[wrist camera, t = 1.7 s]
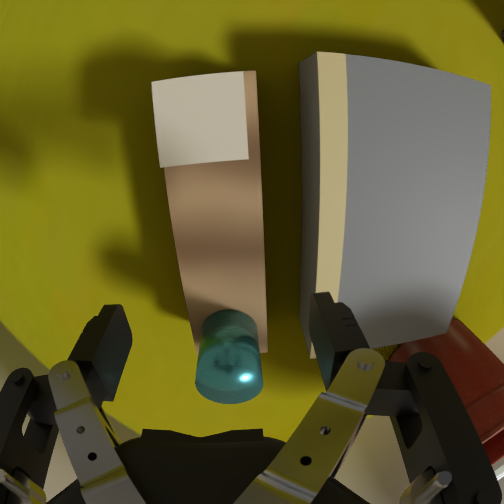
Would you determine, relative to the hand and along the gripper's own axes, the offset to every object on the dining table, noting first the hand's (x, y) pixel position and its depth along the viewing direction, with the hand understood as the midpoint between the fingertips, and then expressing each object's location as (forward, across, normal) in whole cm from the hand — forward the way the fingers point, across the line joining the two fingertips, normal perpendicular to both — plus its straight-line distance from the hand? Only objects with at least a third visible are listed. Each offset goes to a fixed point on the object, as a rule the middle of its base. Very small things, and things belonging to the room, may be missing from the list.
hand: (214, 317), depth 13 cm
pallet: (+12, 0, 0) cm, 12 cm away
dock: (+12, -12, -1) cm, 17 cm away
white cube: (+8, 0, -8) cm, 11 cm away
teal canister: (+8, 0, +7) cm, 11 cm away
